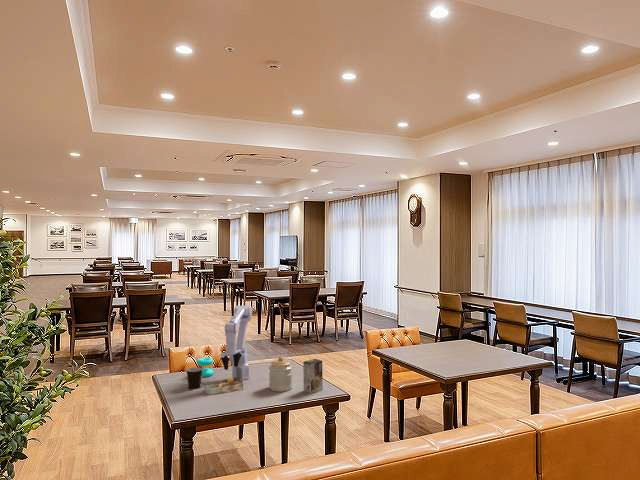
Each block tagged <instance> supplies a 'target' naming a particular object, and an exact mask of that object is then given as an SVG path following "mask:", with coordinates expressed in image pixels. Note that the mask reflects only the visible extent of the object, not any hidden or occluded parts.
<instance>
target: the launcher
mask: <svg viewBox="0 0 640 480" xmlns="http://www.w3.org/2000/svg"><path fill="white" fill-rule="evenodd" d="M233 379H234V378H233ZM227 380H228V378H226V379H221V380H217V381H216V383H215V384H217V388H218V387H221V393H220V394H225V393H230V392H235V391H240V390H241V391H242V390H243V389H244V383H243V381H244V380H240V381H236V382H235V381H233V382H231V383H228V381H227Z"/></svg>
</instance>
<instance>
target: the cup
mask: <svg viewBox="0 0 640 480" xmlns="http://www.w3.org/2000/svg"><path fill="white" fill-rule="evenodd" d="M204 392H205V393H206V394H207V395H209V396H211V395H212V396H213V395H216V394H222V393H221V387H218V388H217V384H216V383H214V384H209V385H205V386H204Z"/></svg>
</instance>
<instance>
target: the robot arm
mask: <svg viewBox="0 0 640 480" xmlns="http://www.w3.org/2000/svg"><path fill="white" fill-rule="evenodd" d="M233 312H234V315H233V316H232V317H230V320H229V322H227V323H225V325H224V334H225V335H224V336H225V351H224V352H222V353H220V355H219V356H220V357H219V358H220V361H221V362H222V364H223V365H222V366H223V368H224V370H226V371H228V370H229V363H231V366H232V367H231V369H232V370H231V371H232V374H231V377H233V378H234V377H236V367H239V368H241V369H242V379H240V381H244V380H248V379H250V365H249V363H248V358H249V357H248V356H249V355H248V350H247V349H246V348H245V342H246V335H247V329H248V323H249V322H250V321H251V320H252V315H253V308H252V306H251V305H236V306H235V307H234V311H233Z"/></svg>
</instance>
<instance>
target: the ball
mask: <svg viewBox="0 0 640 480" xmlns="http://www.w3.org/2000/svg"><path fill="white" fill-rule="evenodd" d="M227 379H228V380H227V381H228V383H231V382H233V381H234V379H233V377H232V376H229V377H228V378H227Z"/></svg>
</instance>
